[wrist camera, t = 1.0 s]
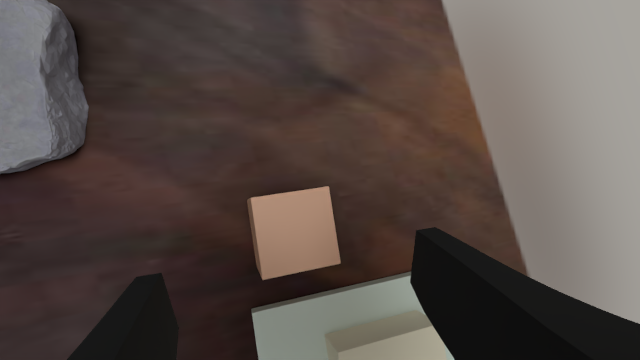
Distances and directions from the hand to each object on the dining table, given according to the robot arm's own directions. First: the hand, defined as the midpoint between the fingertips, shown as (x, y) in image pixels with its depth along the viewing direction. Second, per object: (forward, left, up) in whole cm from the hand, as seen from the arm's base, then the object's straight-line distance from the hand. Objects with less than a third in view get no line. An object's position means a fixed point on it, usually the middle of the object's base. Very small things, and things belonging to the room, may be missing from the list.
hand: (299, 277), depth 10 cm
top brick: (0, -2, -14) cm, 14 cm away
